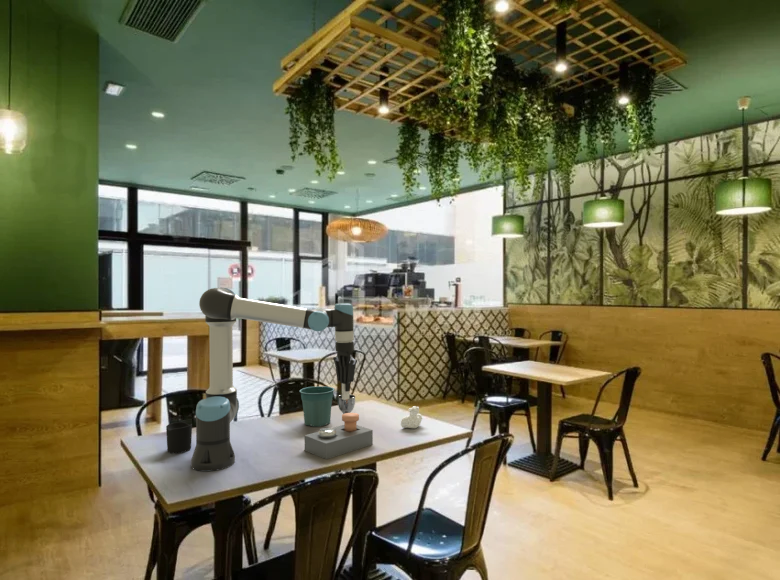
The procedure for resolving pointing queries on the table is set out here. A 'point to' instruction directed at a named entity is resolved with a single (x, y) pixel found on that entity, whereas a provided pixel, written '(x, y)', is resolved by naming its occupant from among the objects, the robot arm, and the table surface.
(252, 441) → the table surface
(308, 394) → the flower pot
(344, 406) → the wine glass
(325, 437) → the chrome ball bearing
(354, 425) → the peach rounded piece
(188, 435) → the pen holder
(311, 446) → the press console
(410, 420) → the bust
